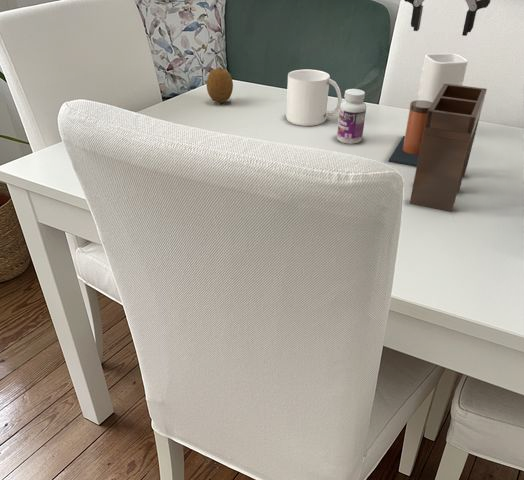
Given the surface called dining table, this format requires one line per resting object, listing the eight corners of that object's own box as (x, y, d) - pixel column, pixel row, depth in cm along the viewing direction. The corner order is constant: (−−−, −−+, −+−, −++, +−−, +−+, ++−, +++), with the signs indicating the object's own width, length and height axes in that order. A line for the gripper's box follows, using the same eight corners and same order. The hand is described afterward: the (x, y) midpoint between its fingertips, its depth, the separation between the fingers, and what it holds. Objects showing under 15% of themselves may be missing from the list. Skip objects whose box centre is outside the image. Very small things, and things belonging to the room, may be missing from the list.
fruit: (207, 99, 139) (205, 63, 134) (232, 98, 139) (231, 63, 134) (207, 107, 134) (206, 71, 129) (234, 107, 135) (233, 70, 130)
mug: (280, 122, 127) (281, 78, 121) (293, 110, 134) (295, 67, 127) (331, 130, 124) (336, 85, 118) (343, 117, 130) (347, 74, 124)
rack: (464, 175, 107) (486, 88, 97) (451, 211, 96) (475, 117, 86) (426, 169, 109) (444, 83, 99) (409, 203, 98) (427, 110, 88)
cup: (408, 126, 126) (422, 53, 117) (439, 125, 127) (455, 52, 118) (421, 138, 121) (436, 63, 111) (453, 137, 122) (471, 61, 112)
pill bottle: (331, 139, 120) (335, 91, 114) (347, 133, 123) (352, 85, 117) (351, 146, 117) (357, 97, 111) (367, 140, 120) (373, 91, 114)
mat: (439, 143, 119) (439, 141, 119) (427, 168, 109) (427, 166, 109) (403, 137, 121) (403, 135, 121) (388, 161, 111) (388, 159, 111)
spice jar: (427, 148, 116) (437, 102, 110) (423, 156, 113) (433, 109, 107) (404, 144, 117) (412, 98, 111) (400, 152, 114) (408, 106, 108)
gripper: (412, -82, 90) (395, 33, 100) (506, -79, 86) (479, 41, 96) (421, -85, 95) (404, 25, 106) (510, -82, 91) (484, 32, 101)
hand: (440, 32), depth 101 cm, fingers open, 8 cm apart
